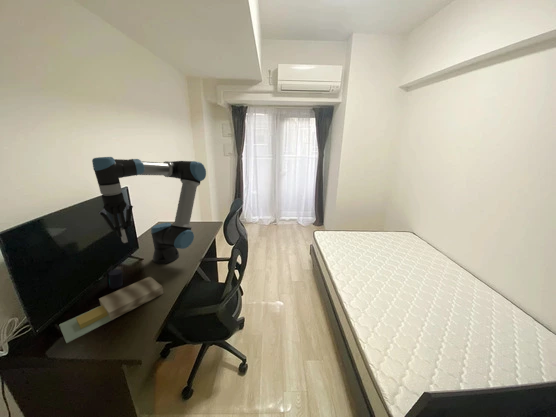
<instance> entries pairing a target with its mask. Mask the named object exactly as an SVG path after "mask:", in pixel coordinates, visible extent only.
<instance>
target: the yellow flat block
mask: <svg viewBox="0 0 556 417" xmlns="http://www.w3.org/2000/svg"><path fill="white" fill-rule="evenodd" d="M99 306H100V307H98V306H97V307H98V308H96V307H95V308H96V309H94V308H93V309H94V310H92V309H91V310H92V311H90V310H89V311H90V312H88V311H86V312H87V313H85V312H84V313H85V314H83V313H82V314H83V315H81V314H80V315H81V316H79V315H78V316H79V317H77V316H76V317H77V318H76V320H77V322H78V324H79V326H80V328H81V329H82V328H84V327H86V326H88V325H90V324H92V323H94V322H96V321H98V320H100V319H102V318H104V317H106V316H108V314H107V311H106V310H105V309H104V307H103V306H101V305H99Z"/></svg>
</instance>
